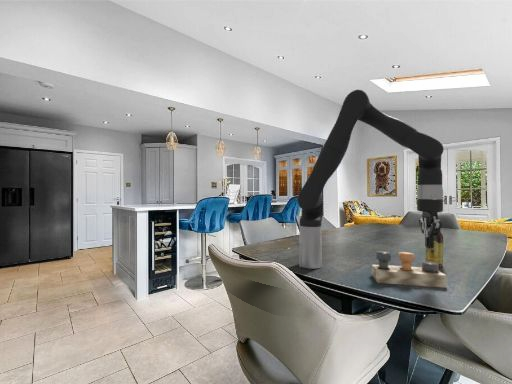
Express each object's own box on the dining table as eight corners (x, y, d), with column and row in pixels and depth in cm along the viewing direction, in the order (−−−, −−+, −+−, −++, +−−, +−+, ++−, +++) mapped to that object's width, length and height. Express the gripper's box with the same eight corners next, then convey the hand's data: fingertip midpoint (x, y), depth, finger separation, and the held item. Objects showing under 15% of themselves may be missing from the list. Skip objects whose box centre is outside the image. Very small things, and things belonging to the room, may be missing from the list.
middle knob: (401, 273, 90) (401, 254, 90) (396, 269, 94) (396, 251, 94) (416, 273, 89) (416, 255, 89) (411, 270, 93) (411, 252, 93)
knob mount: (377, 282, 89) (377, 271, 89) (371, 274, 98) (371, 264, 98) (446, 287, 85) (446, 275, 85) (434, 278, 93) (433, 267, 94)
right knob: (425, 283, 88) (425, 264, 88) (419, 279, 93) (419, 261, 93) (441, 284, 87) (441, 265, 87) (434, 280, 92) (434, 262, 92)
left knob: (377, 271, 91) (377, 253, 91) (374, 267, 96) (374, 250, 96) (392, 272, 90) (392, 254, 90) (388, 268, 95) (388, 251, 95)
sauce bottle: (422, 263, 114) (422, 218, 114) (436, 263, 114) (436, 218, 114) (432, 267, 108) (431, 220, 108) (447, 268, 107) (446, 220, 108)
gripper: (411, 197, 97) (410, 243, 97) (425, 198, 84) (425, 251, 84) (433, 198, 96) (432, 244, 96) (451, 198, 83) (451, 252, 83)
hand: (429, 247), depth 90 cm, fingers closed
